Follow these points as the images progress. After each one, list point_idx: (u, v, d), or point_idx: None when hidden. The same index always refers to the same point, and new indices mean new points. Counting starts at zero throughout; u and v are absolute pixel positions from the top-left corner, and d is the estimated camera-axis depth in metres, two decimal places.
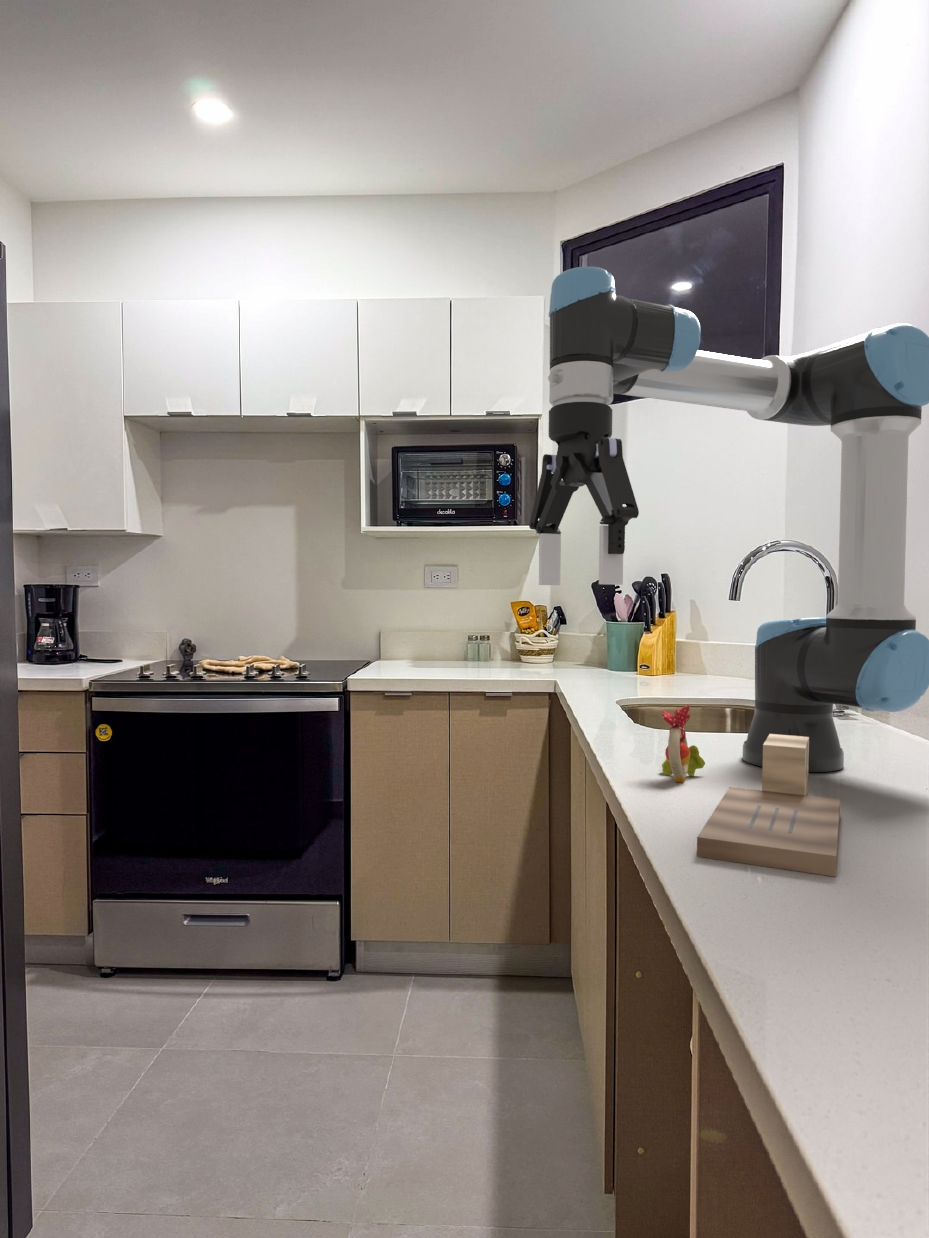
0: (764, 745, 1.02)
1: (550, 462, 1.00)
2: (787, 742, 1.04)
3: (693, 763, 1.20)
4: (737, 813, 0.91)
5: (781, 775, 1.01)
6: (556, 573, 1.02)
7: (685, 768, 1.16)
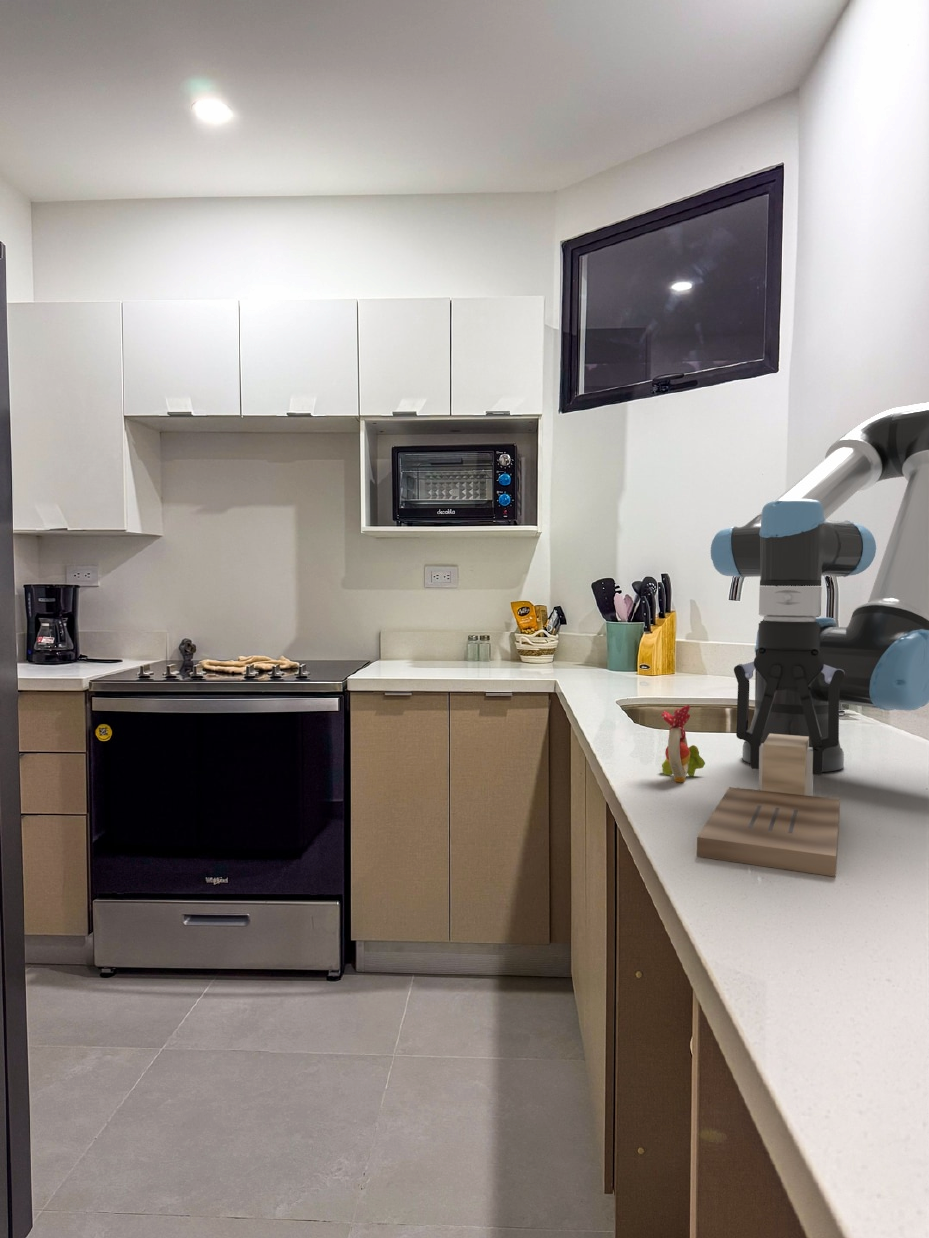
0: (764, 745, 1.02)
1: (744, 671, 1.06)
2: (787, 742, 1.04)
3: (693, 762, 1.20)
4: (737, 813, 0.91)
5: (781, 775, 1.01)
6: None
7: (684, 768, 1.16)
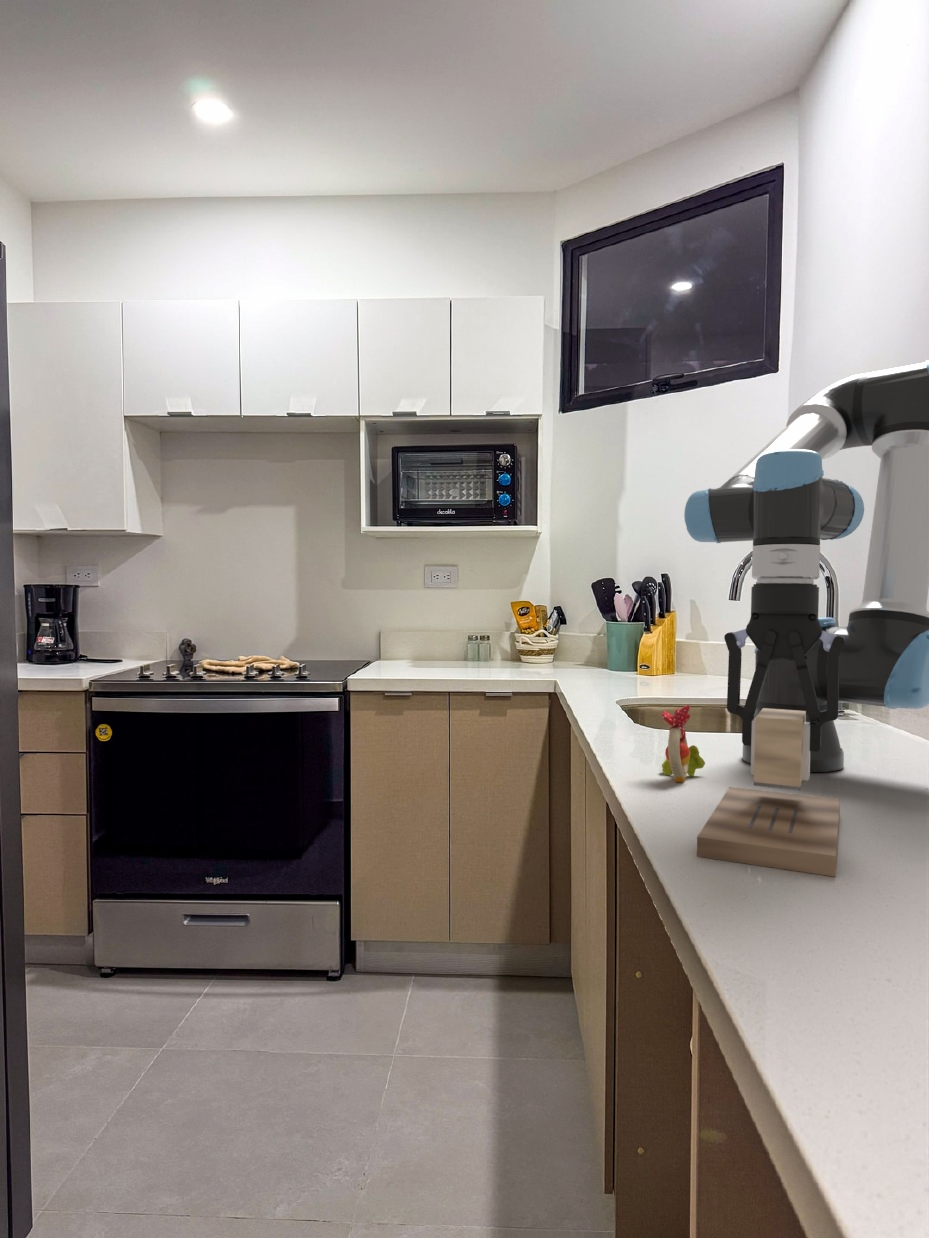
0: (756, 718, 0.93)
1: (735, 639, 0.98)
2: (782, 715, 0.95)
3: (693, 763, 1.20)
4: (737, 813, 0.91)
5: (775, 750, 0.92)
6: None
7: (684, 768, 1.16)
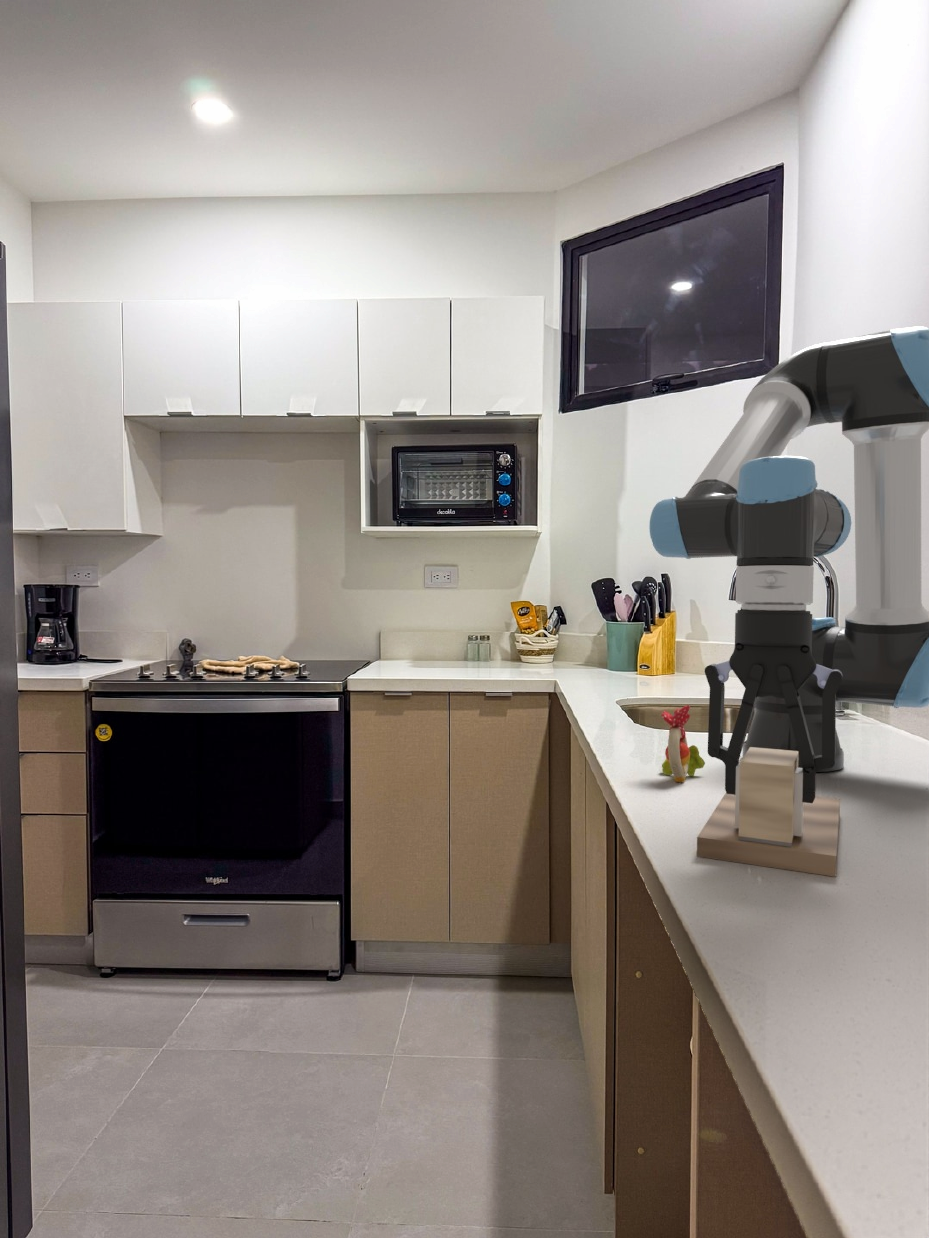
0: (741, 762, 0.81)
1: (717, 672, 0.85)
2: (771, 758, 0.83)
3: (693, 762, 1.20)
4: None
5: (763, 800, 0.80)
6: None
7: (684, 768, 1.16)
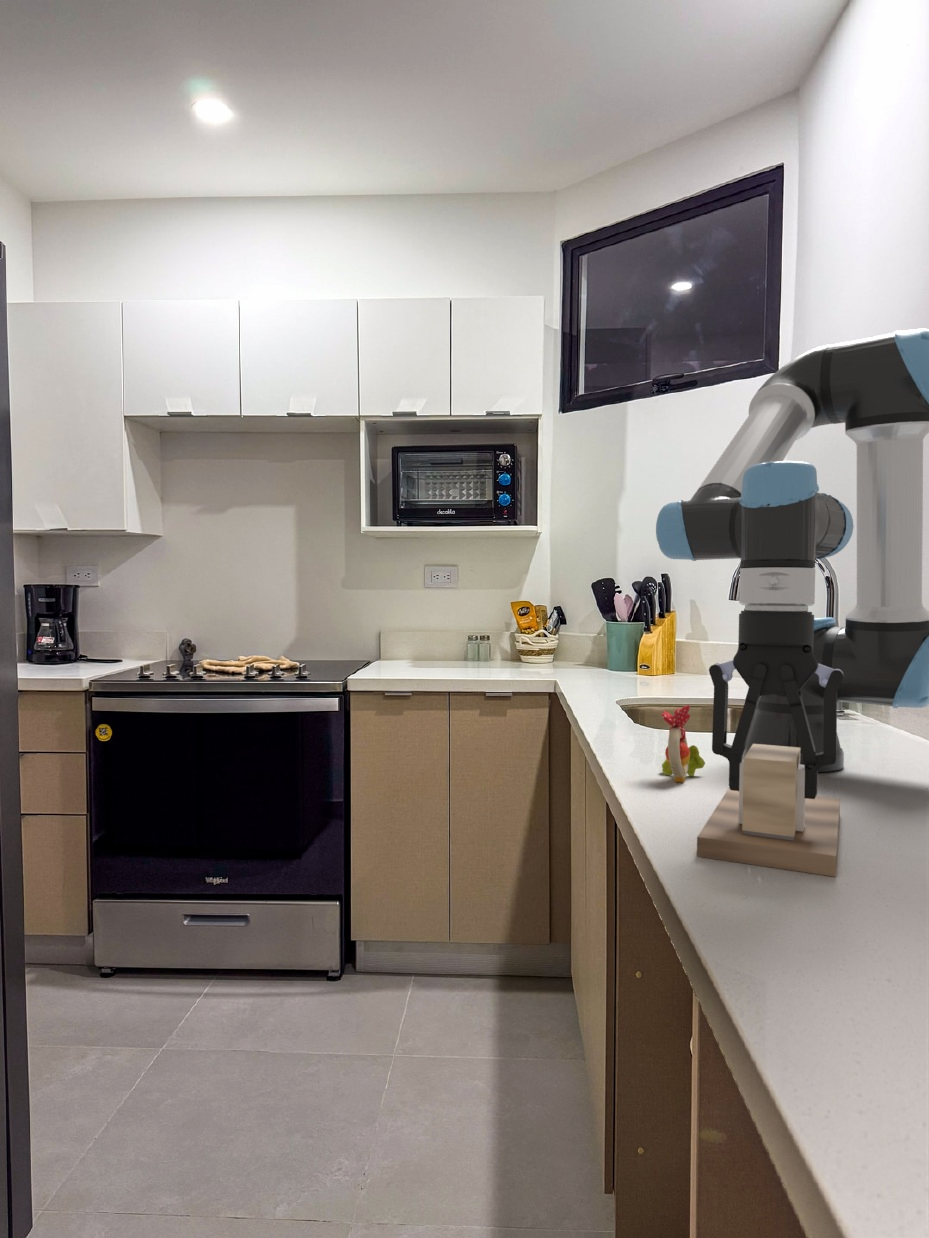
0: (745, 758, 0.83)
1: (721, 671, 0.88)
2: (773, 754, 0.85)
3: (693, 762, 1.20)
4: (737, 813, 0.91)
5: (766, 795, 0.82)
6: None
7: (684, 768, 1.16)
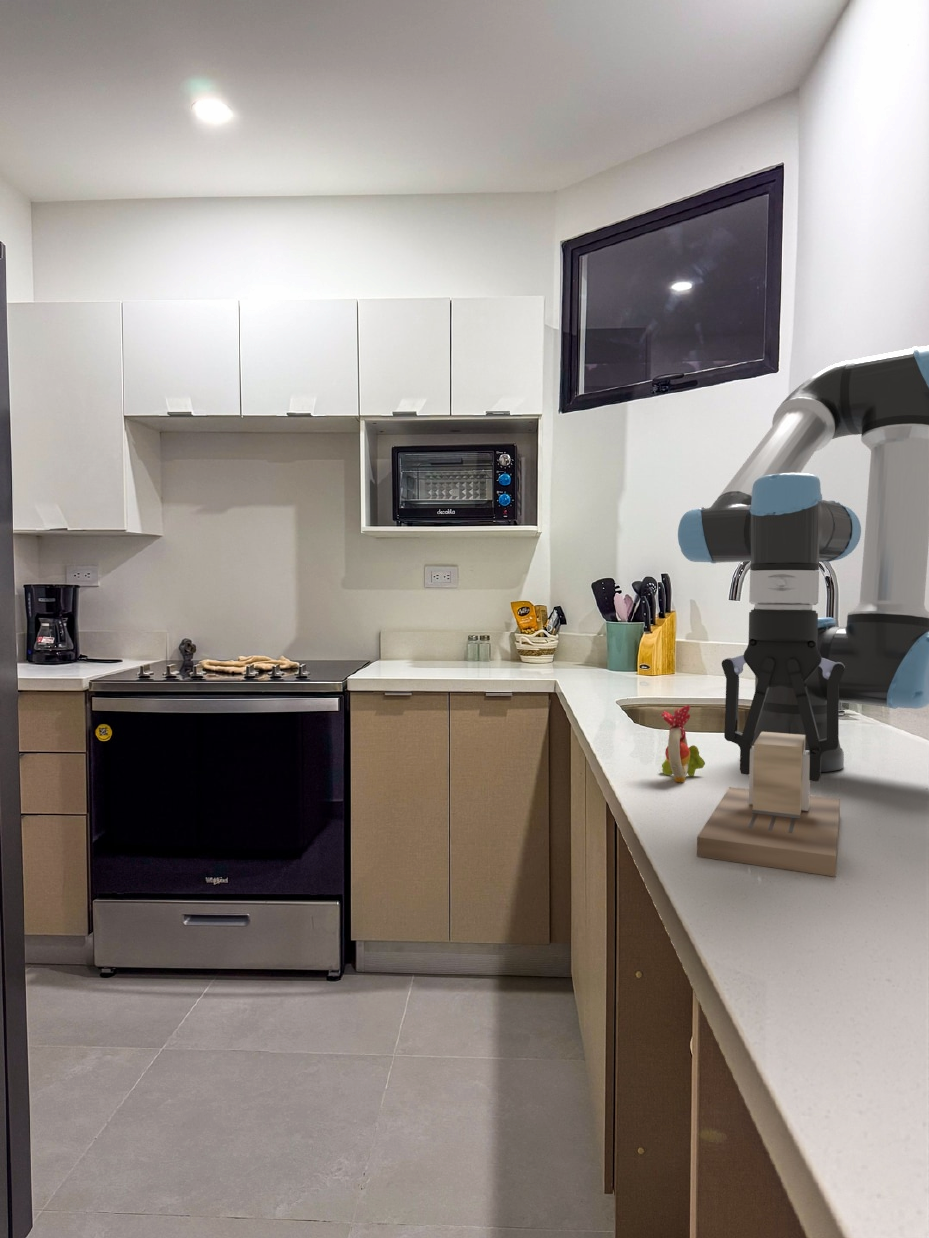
0: (755, 744, 0.91)
1: (733, 665, 0.96)
2: (781, 741, 0.93)
3: (693, 763, 1.20)
4: (737, 813, 0.91)
5: (775, 778, 0.90)
6: None
7: (684, 768, 1.16)
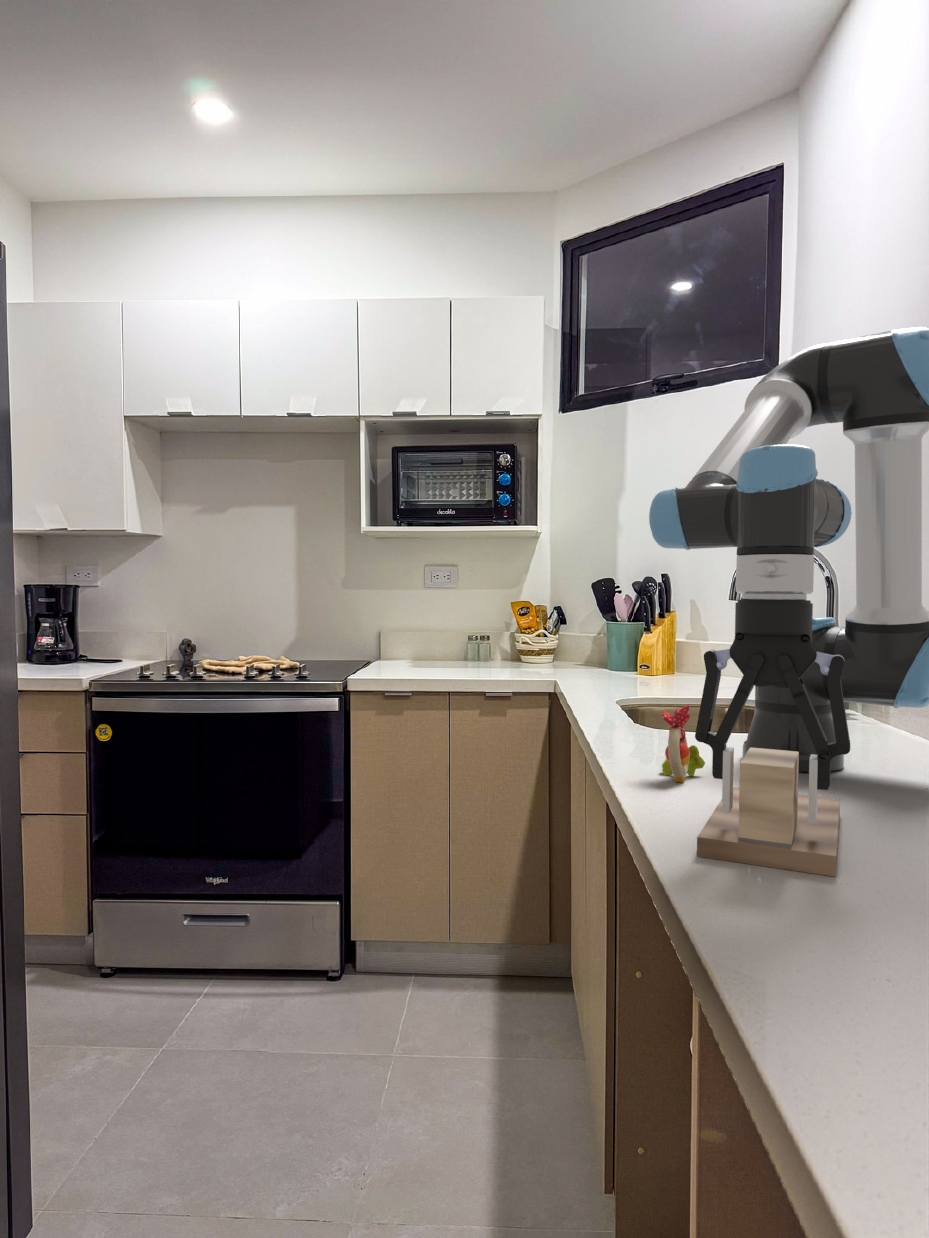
0: (741, 763, 0.81)
1: (716, 659, 0.85)
2: (771, 759, 0.83)
3: (693, 763, 1.20)
4: (737, 813, 0.91)
5: (763, 802, 0.80)
6: (732, 794, 0.86)
7: (684, 768, 1.16)
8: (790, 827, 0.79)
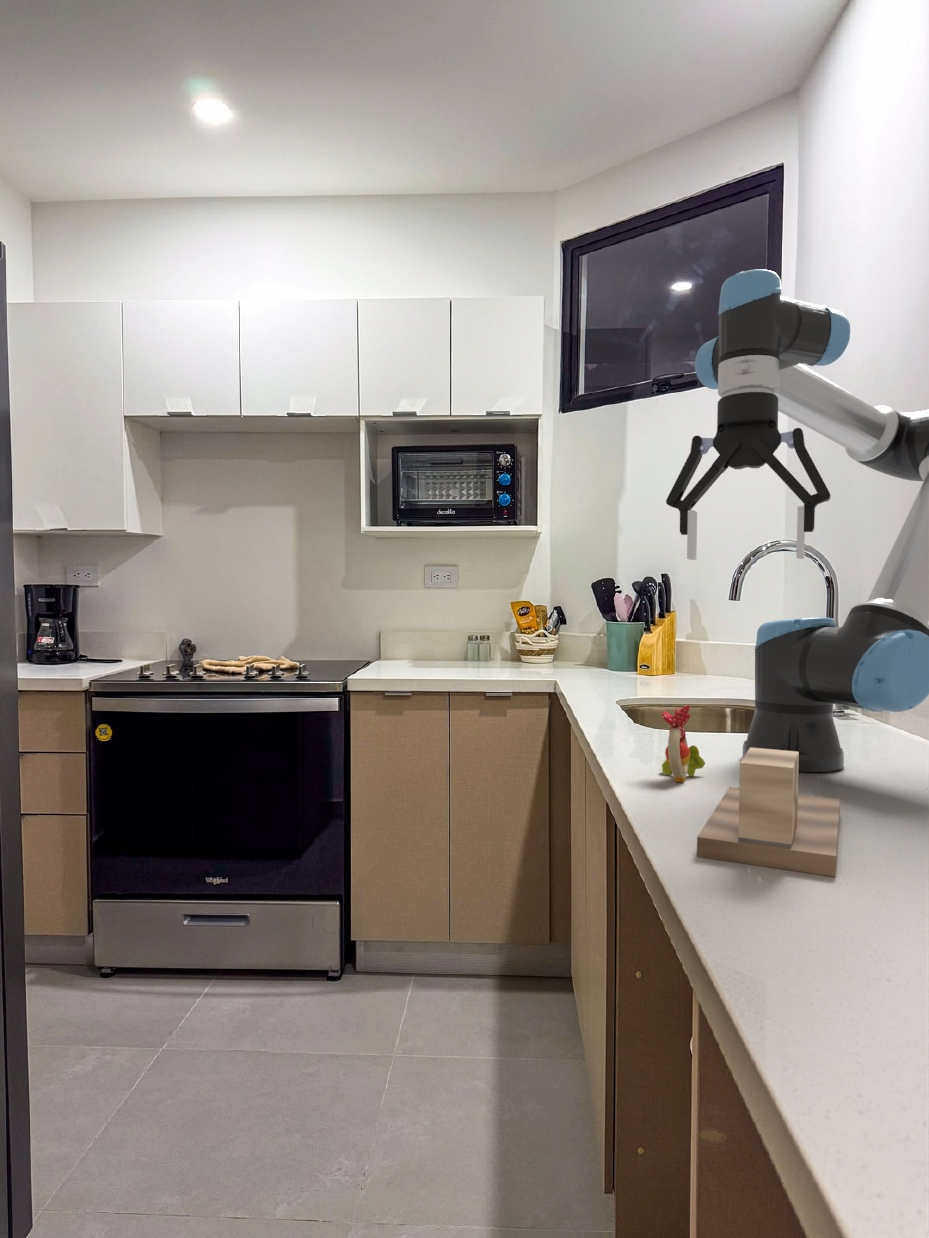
0: (741, 763, 0.81)
1: (701, 443, 1.07)
2: (771, 759, 0.83)
3: (693, 763, 1.20)
4: (737, 813, 0.91)
5: (763, 802, 0.80)
6: (695, 548, 1.09)
7: (684, 768, 1.16)
8: (790, 827, 0.79)
